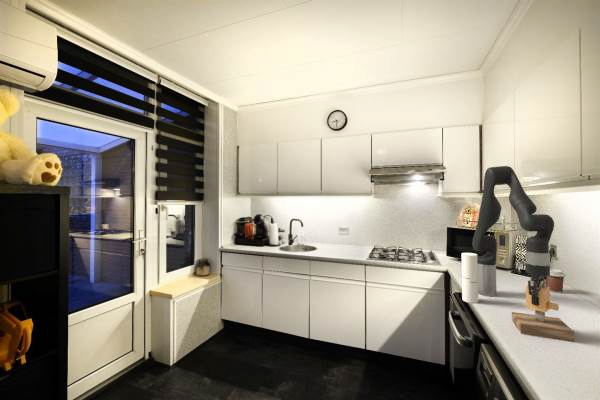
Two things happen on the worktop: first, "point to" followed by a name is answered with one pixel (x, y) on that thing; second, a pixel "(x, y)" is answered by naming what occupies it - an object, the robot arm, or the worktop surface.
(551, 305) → the peach foam cube
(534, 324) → the brown slab
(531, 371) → the worktop surface
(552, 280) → the coffee cup
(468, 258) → the cylindrical container
